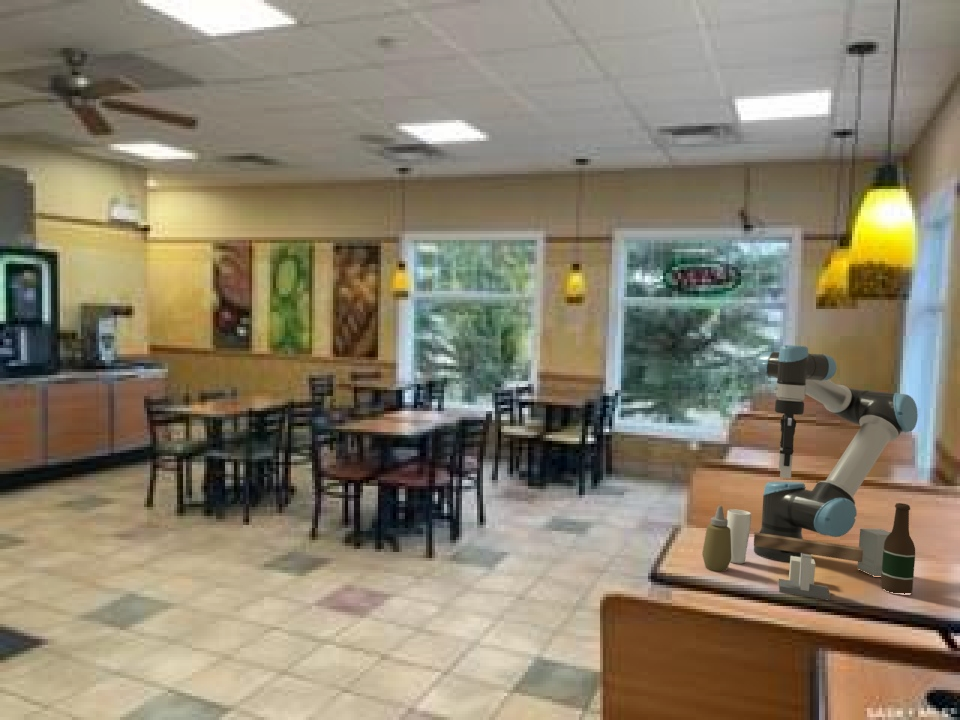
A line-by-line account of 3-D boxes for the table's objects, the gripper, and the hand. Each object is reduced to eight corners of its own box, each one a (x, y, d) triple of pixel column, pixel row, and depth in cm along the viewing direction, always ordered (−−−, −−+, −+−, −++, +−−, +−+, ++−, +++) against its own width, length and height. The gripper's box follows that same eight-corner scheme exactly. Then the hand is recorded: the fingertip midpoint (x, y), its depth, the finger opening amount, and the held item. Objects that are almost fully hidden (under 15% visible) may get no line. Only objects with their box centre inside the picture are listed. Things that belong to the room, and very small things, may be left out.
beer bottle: (874, 585, 199) (880, 500, 198) (902, 587, 198) (909, 501, 198) (889, 595, 191) (896, 506, 190) (918, 597, 191) (925, 508, 190)
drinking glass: (723, 562, 211) (727, 512, 211) (723, 556, 218) (727, 508, 217) (747, 566, 209) (751, 515, 209) (747, 560, 215) (751, 511, 215)
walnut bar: (753, 545, 192) (754, 534, 192) (753, 543, 195) (754, 532, 195) (862, 562, 183) (862, 550, 183) (860, 559, 185) (861, 547, 185)
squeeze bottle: (726, 565, 209) (731, 504, 208) (733, 574, 201) (738, 510, 200) (698, 563, 209) (702, 502, 209) (704, 571, 201) (709, 508, 201)
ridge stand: (779, 591, 188) (782, 552, 188) (778, 584, 194) (781, 545, 194) (829, 600, 184) (832, 559, 183) (827, 592, 190) (830, 552, 190)
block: (789, 581, 197) (791, 560, 197) (788, 576, 202) (790, 555, 202) (813, 585, 195) (815, 564, 195) (812, 580, 200) (813, 559, 199)
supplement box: (896, 578, 207) (899, 535, 207) (873, 578, 206) (876, 534, 205) (878, 570, 214) (881, 528, 214) (856, 569, 213) (859, 527, 213)
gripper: (774, 396, 215) (769, 466, 216) (776, 400, 192) (771, 479, 192) (801, 398, 212) (796, 469, 213) (807, 403, 189) (801, 482, 190)
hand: (784, 474), depth 203 cm, fingers open, 13 cm apart
